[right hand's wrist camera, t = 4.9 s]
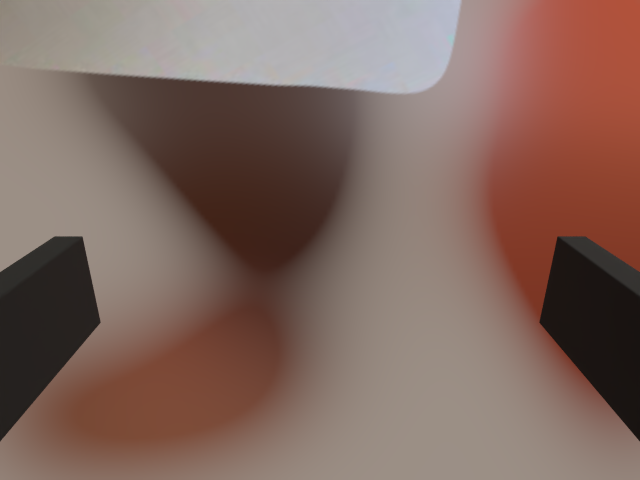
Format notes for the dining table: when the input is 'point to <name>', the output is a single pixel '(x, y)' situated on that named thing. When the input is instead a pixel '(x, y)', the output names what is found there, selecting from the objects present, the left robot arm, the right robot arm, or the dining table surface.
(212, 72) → the dining table surface
